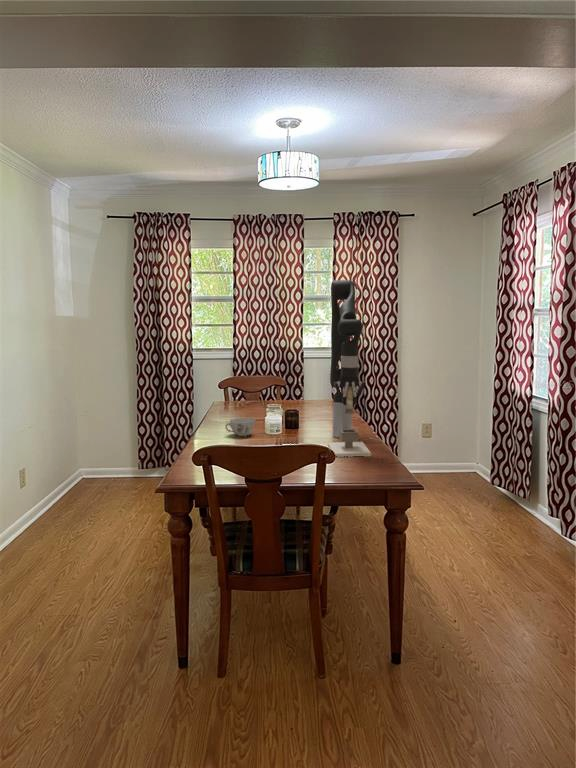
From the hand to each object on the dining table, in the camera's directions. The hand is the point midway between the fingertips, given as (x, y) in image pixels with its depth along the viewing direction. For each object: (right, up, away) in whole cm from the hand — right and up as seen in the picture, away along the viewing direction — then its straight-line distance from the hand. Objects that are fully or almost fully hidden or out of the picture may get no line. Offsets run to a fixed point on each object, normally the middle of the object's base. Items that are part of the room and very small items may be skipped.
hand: (349, 404), depth 255 cm
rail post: (0, -4, +1) cm, 4 cm away
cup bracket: (0, -20, +3) cm, 21 cm away
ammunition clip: (-27, -24, -21) cm, 42 cm away
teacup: (-50, -17, +34) cm, 63 cm away
